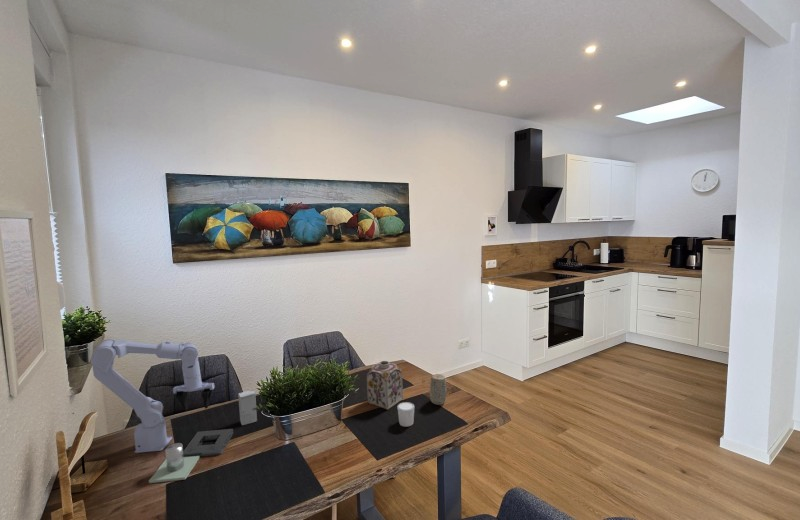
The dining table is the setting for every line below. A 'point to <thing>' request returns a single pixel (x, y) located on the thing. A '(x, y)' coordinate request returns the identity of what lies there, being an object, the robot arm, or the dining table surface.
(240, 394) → the skincare box
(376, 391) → the decorative jar
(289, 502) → the dining table surface
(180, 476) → the sage pad
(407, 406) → the white cup
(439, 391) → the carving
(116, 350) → the robot arm
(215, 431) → the bore plate
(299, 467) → the dining table surface
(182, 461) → the translucent grey cylinder
